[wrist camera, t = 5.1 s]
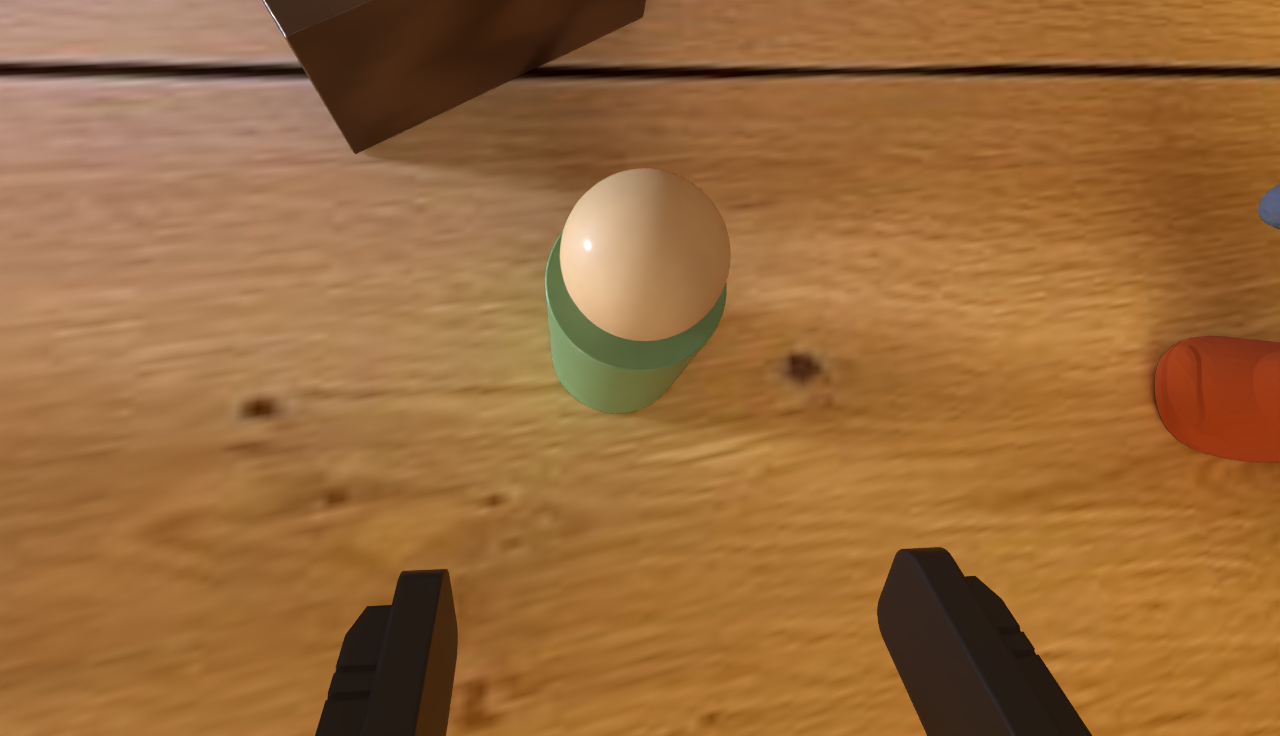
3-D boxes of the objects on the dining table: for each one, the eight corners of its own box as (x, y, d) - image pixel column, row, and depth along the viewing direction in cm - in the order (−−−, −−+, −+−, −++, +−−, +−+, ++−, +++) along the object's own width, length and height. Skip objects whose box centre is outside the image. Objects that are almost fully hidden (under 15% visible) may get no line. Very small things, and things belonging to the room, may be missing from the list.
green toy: (595, 438, 24) (619, 376, 13) (526, 327, 25) (495, 179, 14) (705, 371, 25) (812, 260, 14) (636, 265, 26) (688, 81, 15)
